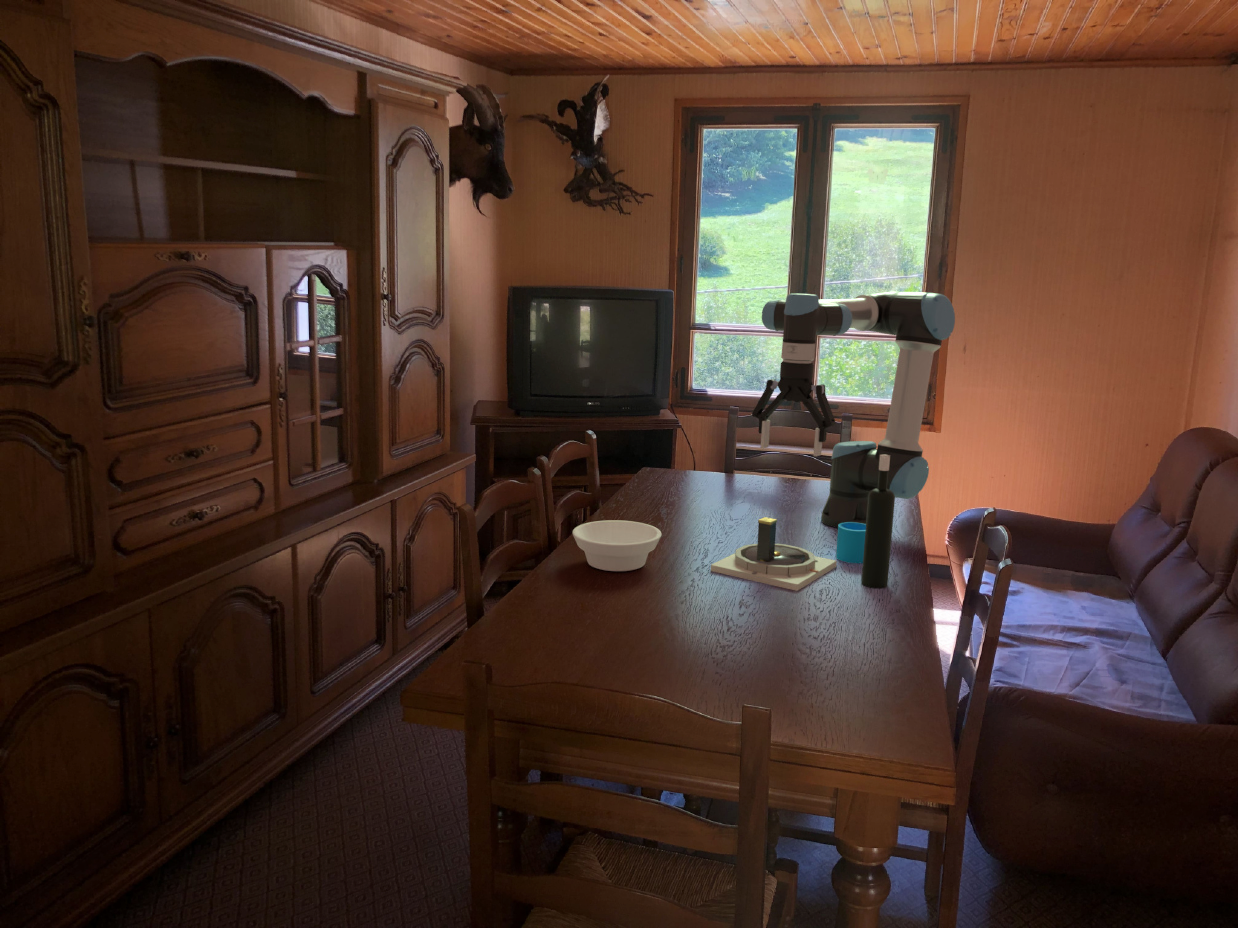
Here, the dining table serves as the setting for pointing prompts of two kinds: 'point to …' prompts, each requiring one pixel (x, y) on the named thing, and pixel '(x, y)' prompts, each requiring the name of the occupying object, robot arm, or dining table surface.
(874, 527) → the wine bottle
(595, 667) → the dining table surface
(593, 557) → the bowl
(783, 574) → the dial board
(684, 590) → the dining table surface
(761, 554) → the dial
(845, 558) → the mug
